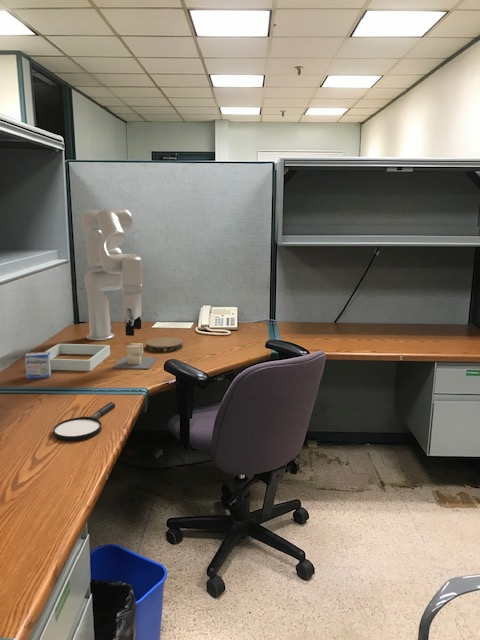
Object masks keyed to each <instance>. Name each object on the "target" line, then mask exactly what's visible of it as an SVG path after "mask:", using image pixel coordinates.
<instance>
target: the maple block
mask: <svg viewBox="0 0 480 640" xmlns="http://www.w3.org/2000/svg"><path fill="white" fill-rule="evenodd" d="M126 357H127V364H141V363H142V361H143V357H144V343H143V342H142V343H137V342H136V343H135V342H130V343H129V344H128V345H127V346H126Z"/></svg>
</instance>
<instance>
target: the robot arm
mask: <svg viewBox="0 0 480 640" xmlns="http://www.w3.org/2000/svg"><path fill="white" fill-rule="evenodd" d="M81 216H82V217H81V223H82V228H83V231H84V234H85V237H86V258H87V259H86V260H87V264H88V266H89V267H90V268H91V269H102V270H91V271H89V272H86V274H85V275H84V279H83V281H84V285H85V289H86V296H87V309H88V310H87V311H88V323H89V325H88V327H89V328H88V329H89V333H88V334H86V339H87V340H89V341H107V340H110V339H111V340H112V339H113V338H115V334H114V333H113V332H111V329H112V326H111V318H110V317H111V315H110V300H109V298H108V296H107V295H106V294H105V293H104V292H107V291H119V290H121V289H122V294H123V298H122V319H123V320H124V322H125V323H124V325H125V326H124V327H125V336H127V337H129V336H130V337H134V336H135V330H141V329H142V309H143V308H142V306H143V305H142V296H141V295H142V294H143V293H144V291H143V260H142V258H141V257H140V256H138V255H137V254H135V253H123V251H122V250H121V248H119V246H121V245H122V244H123V243H124V242H125V240H126V234H125V230H130V229H131V228H132V227H133V224H134V221H133V219H134V218H133V216H132V213H131V212H130V211H129V210H128V209H126V208H104V209H95V210H94V209H93V210H92V209H91V210H86V211H84V212H83V213H82V215H81Z"/></svg>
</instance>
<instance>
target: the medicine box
mask: <svg viewBox="0 0 480 640" xmlns="http://www.w3.org/2000/svg"><path fill="white" fill-rule="evenodd" d="M24 363H25V364H24V365H25V376H26V377H25V378H26V380H35V379H36V380H37V379H48V378H49V379H50V377H51V374H52V370H51V368H50V353H49V352H45V351H44V352H26V354H25V356H24Z"/></svg>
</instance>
